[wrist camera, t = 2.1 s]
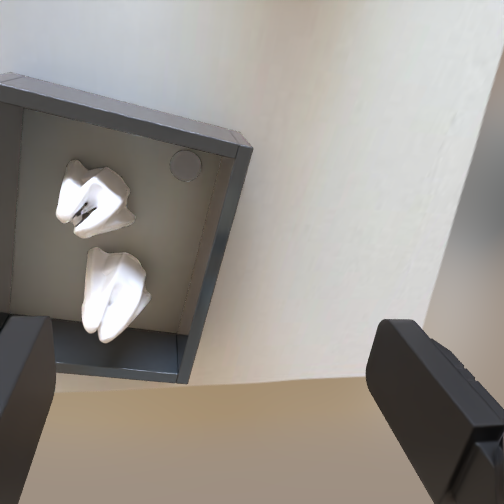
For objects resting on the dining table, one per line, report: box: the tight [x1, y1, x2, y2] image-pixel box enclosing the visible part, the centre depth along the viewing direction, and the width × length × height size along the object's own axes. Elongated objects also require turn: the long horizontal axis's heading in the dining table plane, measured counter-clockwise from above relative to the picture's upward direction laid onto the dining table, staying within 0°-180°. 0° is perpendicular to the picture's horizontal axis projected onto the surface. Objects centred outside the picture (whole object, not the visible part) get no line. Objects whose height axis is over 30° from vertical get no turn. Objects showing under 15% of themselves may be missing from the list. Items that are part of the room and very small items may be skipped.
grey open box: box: [0, 72, 253, 384], centre depth 32 cm, size 16×20×6 cm
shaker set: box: [56, 160, 151, 343], centre depth 29 cm, size 12×4×11 cm, turn 5°
